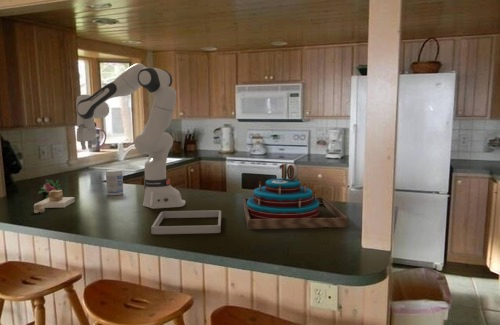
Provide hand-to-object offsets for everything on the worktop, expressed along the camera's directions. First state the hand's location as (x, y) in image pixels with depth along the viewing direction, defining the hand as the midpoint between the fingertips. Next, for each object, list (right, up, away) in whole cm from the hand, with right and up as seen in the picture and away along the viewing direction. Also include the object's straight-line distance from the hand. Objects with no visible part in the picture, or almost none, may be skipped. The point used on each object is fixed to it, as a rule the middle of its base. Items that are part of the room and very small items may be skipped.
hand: (87, 148), depth 220 cm
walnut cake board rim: (+110, -33, -31) cm, 119 cm away
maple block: (-14, -32, -23) cm, 42 cm away
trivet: (-13, -30, -8) cm, 34 cm away
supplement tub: (+9, -27, +19) cm, 34 cm away
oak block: (-13, -28, -8) cm, 32 cm away
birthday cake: (+107, -33, -28) cm, 116 cm away
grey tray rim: (+64, -35, -47) cm, 87 cm away
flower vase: (-29, -28, +16) cm, 43 cm away
